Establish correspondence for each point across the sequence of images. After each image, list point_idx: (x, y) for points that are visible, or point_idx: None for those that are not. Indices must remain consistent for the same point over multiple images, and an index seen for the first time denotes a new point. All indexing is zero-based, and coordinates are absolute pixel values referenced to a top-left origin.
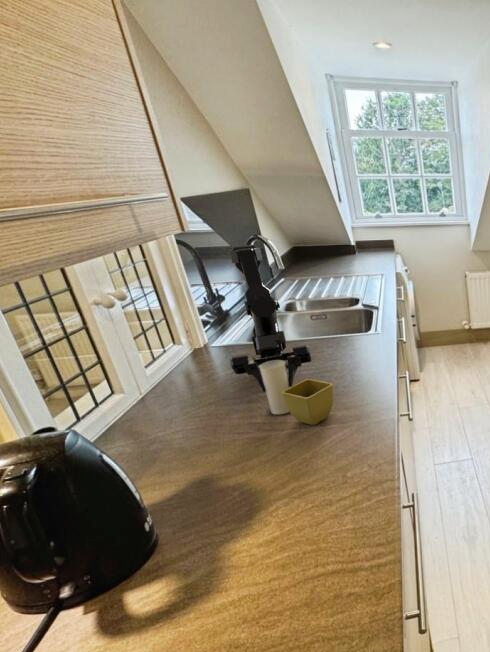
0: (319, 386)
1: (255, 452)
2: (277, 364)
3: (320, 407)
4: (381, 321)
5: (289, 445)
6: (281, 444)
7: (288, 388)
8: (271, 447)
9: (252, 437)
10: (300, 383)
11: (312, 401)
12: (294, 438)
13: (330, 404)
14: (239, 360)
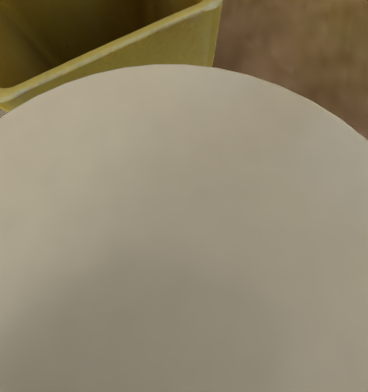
0: (4, 48)
1: (353, 29)
2: (50, 208)
3: (100, 7)
4: None
5: (254, 11)
6: (273, 28)
7: (164, 23)
8: (304, 29)
9: (355, 124)
10: (66, 65)
11: None
12: (230, 38)
13: (55, 43)
14: None
